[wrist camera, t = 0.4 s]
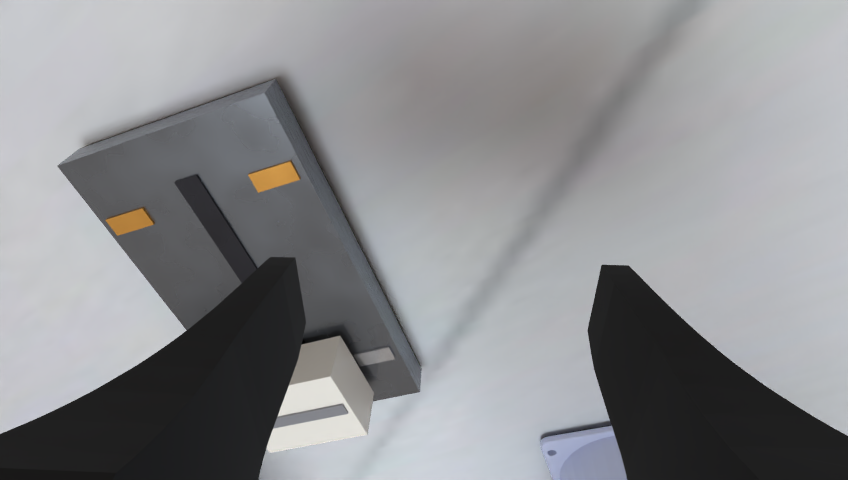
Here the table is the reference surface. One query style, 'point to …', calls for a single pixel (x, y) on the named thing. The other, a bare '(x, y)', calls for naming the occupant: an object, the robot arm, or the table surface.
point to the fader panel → (242, 222)
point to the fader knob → (323, 398)
